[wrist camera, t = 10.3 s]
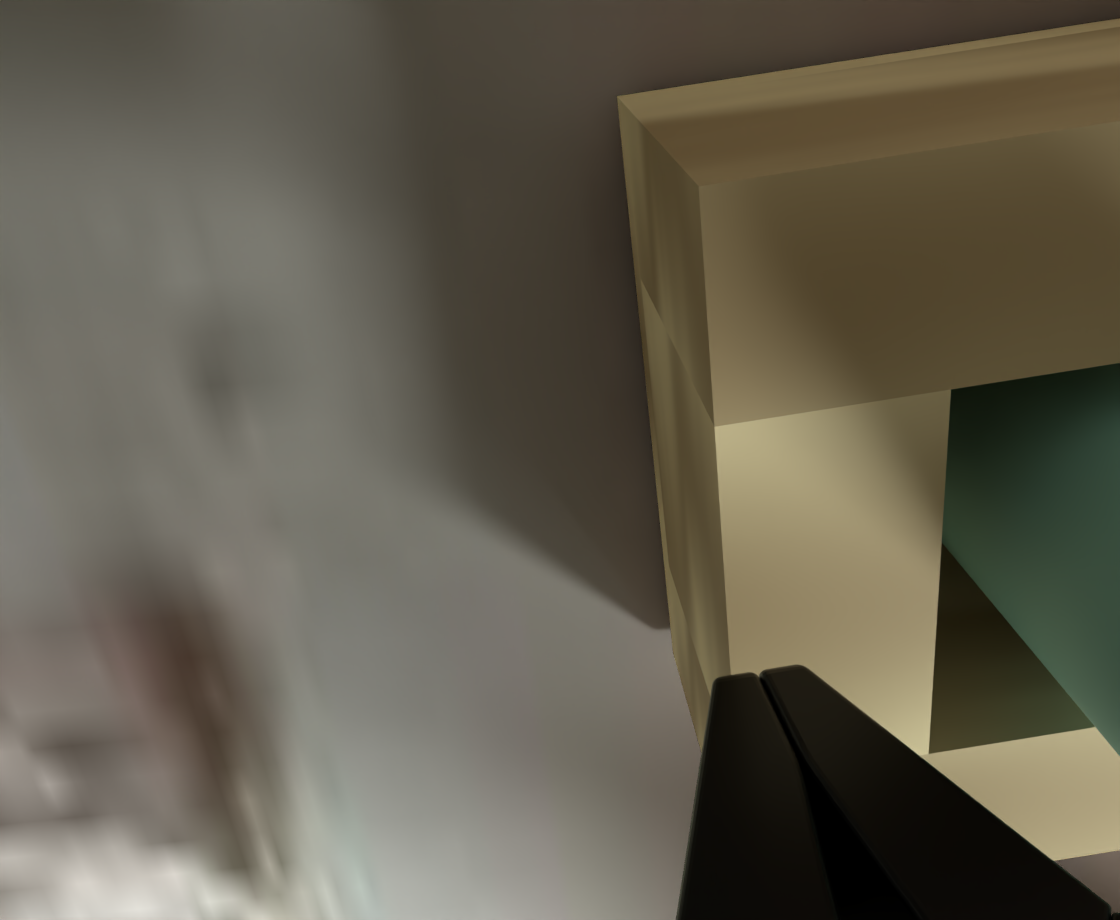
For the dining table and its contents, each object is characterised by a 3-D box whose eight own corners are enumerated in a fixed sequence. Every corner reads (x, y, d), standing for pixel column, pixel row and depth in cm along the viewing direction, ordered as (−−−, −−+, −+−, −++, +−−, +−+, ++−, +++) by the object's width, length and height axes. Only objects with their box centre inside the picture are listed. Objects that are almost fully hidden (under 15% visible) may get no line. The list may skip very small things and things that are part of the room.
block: (1196, 569, 17) (1455, 795, 12) (673, 653, 17) (746, 911, 12) (1320, -13, 12) (1786, 16, 8) (616, 96, 12) (698, 187, 8)
